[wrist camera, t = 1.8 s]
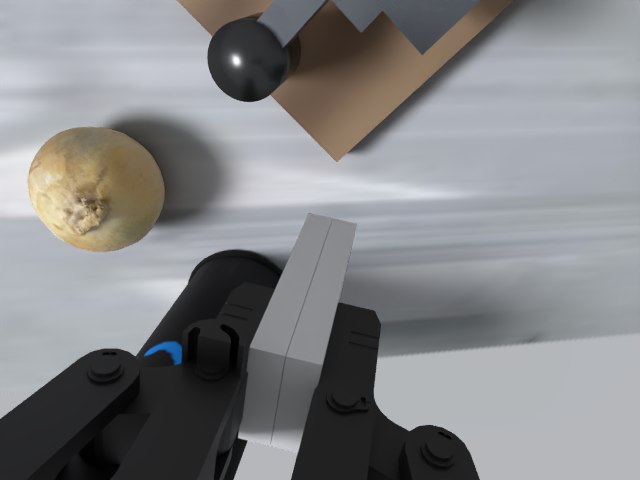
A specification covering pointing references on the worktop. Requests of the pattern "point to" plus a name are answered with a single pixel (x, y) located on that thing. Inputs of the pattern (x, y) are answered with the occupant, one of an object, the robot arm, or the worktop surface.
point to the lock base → (350, 66)
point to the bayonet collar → (284, 44)
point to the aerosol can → (207, 312)
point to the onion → (96, 188)
